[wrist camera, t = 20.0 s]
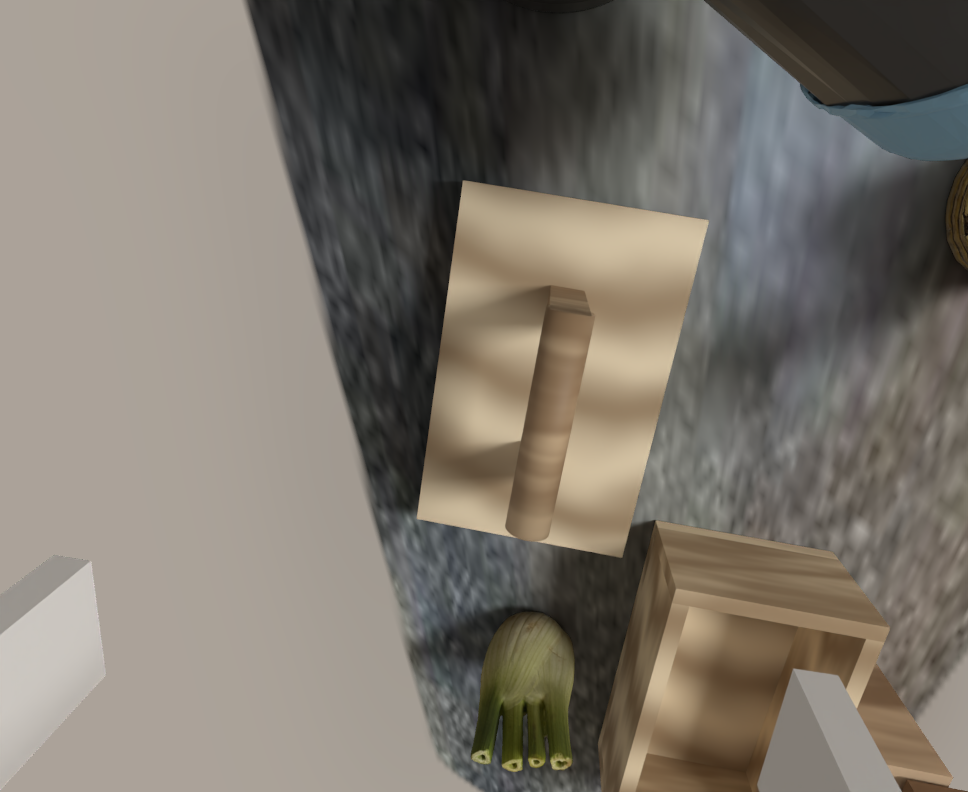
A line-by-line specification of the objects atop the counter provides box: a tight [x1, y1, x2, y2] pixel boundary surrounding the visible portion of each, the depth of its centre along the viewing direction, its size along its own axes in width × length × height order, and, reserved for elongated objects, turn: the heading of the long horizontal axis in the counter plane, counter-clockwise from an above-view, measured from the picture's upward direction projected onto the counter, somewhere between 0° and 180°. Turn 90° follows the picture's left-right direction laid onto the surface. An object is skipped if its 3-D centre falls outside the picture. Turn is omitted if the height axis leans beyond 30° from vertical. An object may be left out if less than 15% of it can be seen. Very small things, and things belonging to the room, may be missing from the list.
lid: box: [417, 180, 709, 558], centre depth 37 cm, size 22×14×11 cm, turn 171°
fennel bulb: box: [471, 611, 575, 772], centre depth 43 cm, size 6×5×12 cm
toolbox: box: [598, 520, 953, 792], centre depth 43 cm, size 20×18×10 cm
